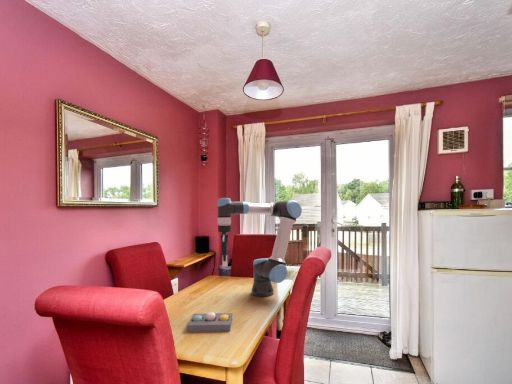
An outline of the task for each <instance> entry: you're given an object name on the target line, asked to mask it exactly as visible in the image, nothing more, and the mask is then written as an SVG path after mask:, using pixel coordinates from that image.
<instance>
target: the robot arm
mask: <svg viewBox="0 0 512 384" xmlns="http://www.w3.org/2000/svg"><path fill="white" fill-rule="evenodd" d="M216 206H217V219H216V221H217V225H218V226H217V232H218V233H221V235H220V240H221V241H220V243H221V254H220V256H222V259H221V260H222V261H221V262H222V265H221V267H222V268H227V267H228V255H229V253H228V252H229V251H228V245H229V243H228V242H229V234H228V233H230V232H232V225H231V224H232V215H266V216H268V217H277V218H278V219H279V224H278V225H279V226H278V230H277V233H276V238H275V241H274V244H273V248H272V253H271V256H270V257H267V258H266V257H265V258H262V257H261V258H257V259H254V260H253V263H252V266H253V282H252V285H251V286H252V287H251V290H250V292H251V296H254V297H260V298H261V297H270V296H273V295H274V293H275V291H274V290H275V289H274V287H273V284H272V283H274V284H280V283H283V282H284V281H285V280H286V278H287V276H288V268H287V266H286V265H287V263H286V260H285V258H286V253H287V250H288V245H289V243H290V237H291V233H292V230H293V229H292V228H293V226H294V224H295V223H297V219H298V218H299V217H301V215H302V206H301V204H300V203H299V202H298V201H296V200H292V199H291V200H278V201H274V202H271V201H270V202H267V203H258V202H257V203H256V202H248V201H244V200H243V201H241V200H240V201H232V200H231V198H230V197H220V198H218V199H217V205H216Z"/></svg>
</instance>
